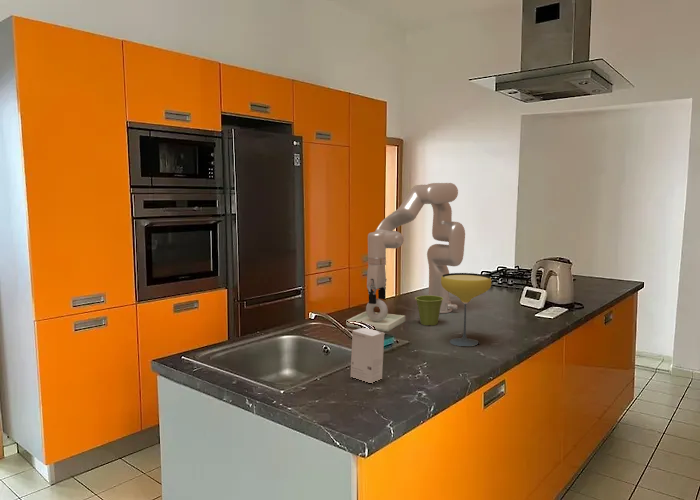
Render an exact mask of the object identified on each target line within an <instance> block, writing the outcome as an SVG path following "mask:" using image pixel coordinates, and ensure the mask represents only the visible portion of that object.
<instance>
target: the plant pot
mask: <svg viewBox="0 0 700 500" xmlns="http://www.w3.org/2000/svg"><path fill="white" fill-rule="evenodd" d="M414 299H415V301H416V304H417V309H418V313H419V314H418V315H419V320H420V324H421V325H422V326H426V327H427V326H437V325H438V323H439V319H440V318H439V317H440V314H441V313H440V307H441V303H442V300H443V298H442V297H440V296H432V295H429V294H427V295H418V296H415V297H414Z"/></svg>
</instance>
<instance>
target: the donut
mask: <svg viewBox="0 0 700 500" xmlns="http://www.w3.org/2000/svg"><path fill="white" fill-rule="evenodd" d="M375 307H377V308H379V312H378V313H379V314H376V313H375V310H374V309H375ZM365 311H366V313H367V315H368V317H369V318H370V319H371V320H372V321H375V322H380V321H383V320H384V319H385V318H386V316H387V314H389V310H388V305H387V304H386V302H385V301H384V300H383V299H379V298H376V304H370V303H369V301H368V302H367V304H366V306H365Z"/></svg>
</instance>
